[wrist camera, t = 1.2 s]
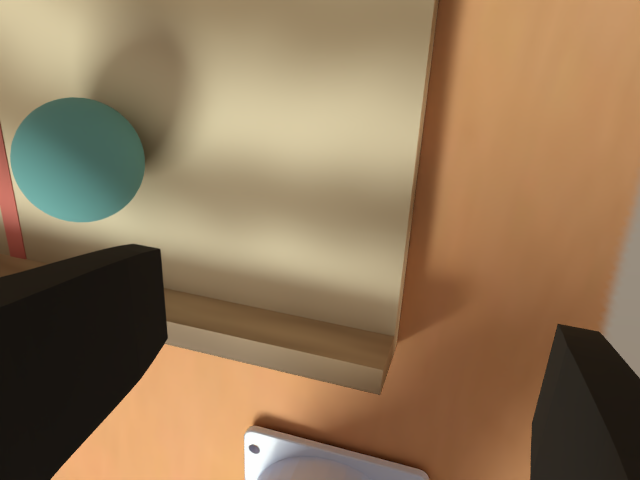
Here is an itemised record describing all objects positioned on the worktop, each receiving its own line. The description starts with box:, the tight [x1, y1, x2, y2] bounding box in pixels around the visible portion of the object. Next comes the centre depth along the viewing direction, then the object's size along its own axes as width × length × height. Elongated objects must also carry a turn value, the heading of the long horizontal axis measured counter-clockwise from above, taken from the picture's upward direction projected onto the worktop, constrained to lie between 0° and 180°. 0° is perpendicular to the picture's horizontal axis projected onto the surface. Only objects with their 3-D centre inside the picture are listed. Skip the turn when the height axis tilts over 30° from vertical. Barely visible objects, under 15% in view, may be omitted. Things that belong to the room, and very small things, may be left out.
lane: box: [0, 0, 439, 395], centre depth 21 cm, size 13×28×3 cm, turn 88°
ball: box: [10, 97, 145, 222], centre depth 18 cm, size 4×4×4 cm
